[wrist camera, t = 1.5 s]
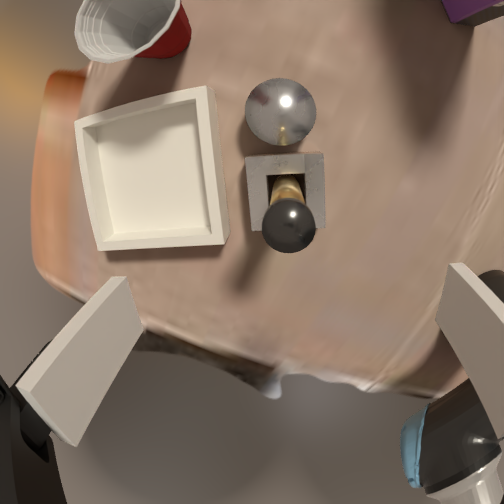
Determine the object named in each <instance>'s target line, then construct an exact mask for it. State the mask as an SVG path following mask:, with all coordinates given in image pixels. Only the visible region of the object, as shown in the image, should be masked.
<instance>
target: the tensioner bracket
mask: <svg viewBox="0 0 504 504" xmlns="http://www.w3.org/2000/svg"><path fill="white" fill-rule="evenodd" d="M245 117H246V121H247V124H248V126H249V128H250V129H251V131H252V132H253V133H254V134H255V135H256V136H257V137H258V138H260V139H261V140H263V141H265V142H267V143H269V144H273V145H290V144H293V143H296V142H298V141H300V140H302V139H303V138H304V137H305V136H306V135H308V133H309V132H310V131H311V129H312V128H313V125H314V123H315V119H316V106H315V103H314V100H313V98H312V96H311V94H310V93H309V92H308V91H307V89H305V88H304V87H303V86H302V85H300V84H299V83H297V82H295V81H292V80H289V79H283V78H276V79H271V80H267V81H265V82H263V83H261V84H259V85H258V86H257V87H256V88H255V89H253V91H252V92H251V93H250V95H249V97H248V99H247V101H246V105H245ZM245 164H246V175H247V185H248V196H249V206H250V217H251V227H252V231H262V221H263V217H264V214H265V211H266V210H267V208H268V207H269V206H270V197H269V184H268V175H277V174H297V173H303V179H304V200H305V204H306V205H307V206H308V207H309V208H310V210H311V212H312V214H313V217H314V220H315V225H316V228H325V178H324V155H323V153H322V152H292V153H274V154H259V155H248V156H246V157H245Z"/></svg>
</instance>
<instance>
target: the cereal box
mask: <svg viewBox="0 0 504 504" xmlns="http://www.w3.org/2000/svg"><path fill="white" fill-rule="evenodd" d="M441 2H442V4H443V6H444V9H445V11H446V13H447V16H448V18H449V20H450V23H456V24H463V25H469V26H474V27H475V26H477V25H480V24H482V23H485V22H487V21H490V20H493V19H495V18H498V17H501V16H504V0H441Z"/></svg>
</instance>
